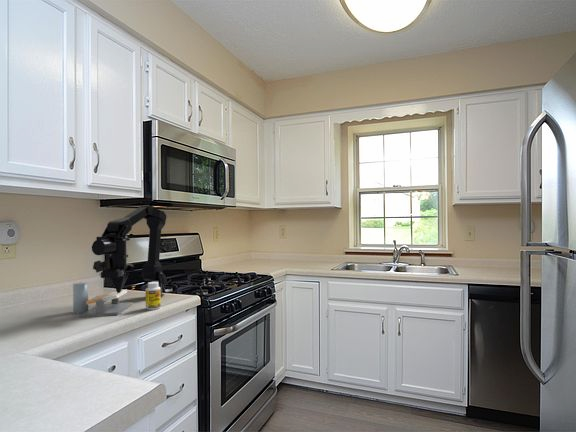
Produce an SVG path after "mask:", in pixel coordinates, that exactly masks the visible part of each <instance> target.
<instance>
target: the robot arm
mask: <svg viewBox="0 0 576 432" xmlns="http://www.w3.org/2000/svg"><path fill="white" fill-rule="evenodd" d="M143 219H144V220H146V225H147V227H148V229H149V236H148V237H149V238H148V250H147V251H148V252H147V261H146V262H145V263H144V264H142V266H141V270H142V271H141V276H142V280H143V283H144V285H148V283H149V282H158V284H159V286H158V287H160V288H161V298H162V297H164V296H165V293H163V284H166V283H167V279H168V277H167V275H165V273H164V272H163V266H162V264H161V262H160V256H161V255H160V254H161V240H162V239H161V238H162V229H163V228H164V227H165V225H166V222H167V214H166V213H165V211H164V210H161V209H159V208H155V207H153V206H151V205H140V206H138V208H136V209H135V210H133V211H131V212H130V213H129V214H127V215H126V216H124V217H121V218H117V219H114V220H110V221H108V223H107V226H106V228H105V229H104V231H103V233H102V234H101V236H96V238H95V240H94V241H93V243H92V245H91V251H92V253H93V254H94V255H96V256H102V255H104V256H105V255H108V256H107V260H104V261H103V260H102V261H101V260H97V261H94V263H93V265H92V270H95V272H96V273H99V272H100V279H110V280H112V282H113V285H114V287H115V292H117V293H120V292H121V290H123V288H124V285H125V284H126V281H127V280H128V278H129V275H130V273H129V272H128V271H130V272H133V271H135V265H134V264H133V263H127V259H128V258H129V254H127V241H128V242H129V241H130V240H131V238H130V237H128V236H127V235H128V234H129V233H130V232H131V231H132V227H133V226H135V225H136V224H137V223H139V222H140V221H141V220H143ZM127 272H128V273H127Z"/></svg>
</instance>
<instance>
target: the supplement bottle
mask: <svg viewBox="0 0 576 432" xmlns="http://www.w3.org/2000/svg"><path fill="white" fill-rule="evenodd" d="M158 286H159V284H158V282H149V283H148V284H147V287H146V288H145V309H146V310H148V311H153V310H154V311H155V310H158V309H160V308H161V305H162V301H161V299H162V297H161V288H160V287H158Z"/></svg>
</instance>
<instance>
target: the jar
mask: <svg viewBox="0 0 576 432" xmlns="http://www.w3.org/2000/svg"><path fill="white" fill-rule="evenodd" d="M88 300H89V282H88V281H86V282H85V281H82V282H74V283H72V313H73V314H79V315H80V314H82V313H84V312H85V311H87V310H89V304H87V305H86V301H88Z"/></svg>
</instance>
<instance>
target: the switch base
mask: <svg viewBox="0 0 576 432" xmlns="http://www.w3.org/2000/svg"><path fill="white" fill-rule="evenodd" d="M119 299H120V297H118V298H116V299H111V302H110V303H108V302H107V303H106V302H104V300H97V301H96V303H95V306H93V307H91V308H88V310H87V311H85V312H84V313H79V317H80V318H87V317H88V318H89V317H107V316H110V317H111V316H119V315H120V314H121V313H123V312H125V310H128V308H130V307H131V306H133V304H134V303H133V302H132V301H131V302H129V301H128V302H119V301H120V300H119Z"/></svg>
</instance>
